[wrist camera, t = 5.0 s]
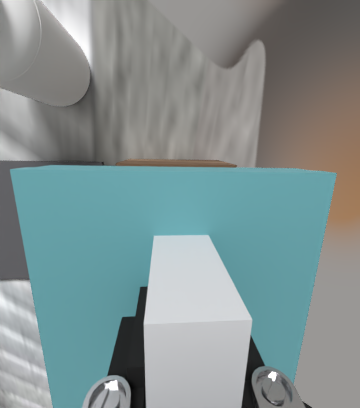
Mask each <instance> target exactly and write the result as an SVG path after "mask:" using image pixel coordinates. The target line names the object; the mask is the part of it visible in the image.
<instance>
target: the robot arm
mask: <svg viewBox="0 0 360 408" xmlns="http://www.w3.org/2000/svg"><path fill="white" fill-rule="evenodd" d="M147 291H148V286H146V287H140V291H139V297H138V303H137V309H136V315H135V316H130V317H122V319H121V322H120V326H119V330H118V334H117V338H116V342H115V346H114V350H113V354H112V358H111V363H110V367H109V371H108V375H107V377H104V378H102V379H101V380H99V381H97V382H96V383H95V384H94V385H93V386H92V387H91V389H90V390H89V391H88V393H87V395H86V397H85V400H84V402H83V406H82V408H146V387H145V353H144V317H145V309H146V300H147ZM241 408H312V407H310V406H309V405H307V404H306V403H304V402H303V401H302V400H301V398H300V396H299V394H298V392H297V390H296V388H295V386H294V385H293V383H292V382H291V380H290V379H289V378H288V377H287V376H286V375H285V374H284V373H282V372H281V371H280V370H278V369H276V368H273V367H269V366H265V364H264V362H263V360H262V358H261V356H260V353H259V351H258V349H257V347H256V345H255V343H254V341H253V338H252V336H251V335H250V343H249V351H248V359H247V366H246V374H245V382H244V390H243V398H242V406H241Z"/></svg>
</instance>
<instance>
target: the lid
mask: <svg viewBox="0 0 360 408" xmlns="http://www.w3.org/2000/svg"><path fill="white" fill-rule="evenodd" d="M10 173H11V179H12V184H13V190H14V195H15V201H16V206H17V212H18V217H19V223H20V228H21V234H22V239H23V245H24V250H25V256H26V261H27V267H28V272H29V278H30V283H31V289H32V294H33V300H34V306H35V311H36V317H37V322H38V328H39V333H40V339H41V344H42V350H43V355H44V361H45V366H46V372H47V377H48V383H49V388H50V394H51V399H52V405H53V408H82V406H83V402H84V400H85V397H86V395H87V393H88V391H89V390H90V389H91V387H92V386H93V385H94V384H95V383H96V382H97V381H99V380H101V379H102V378H104V377H107V375H108V371H109V367H110V363H111V358H112V354H113V350H114V346H115V342H116V338H117V334H118V330H119V326H120V322H121V319H122V317H130V316H135V315H136V309H137V303H138V297H139V291H140V287H146V286H148V291H147V300H146V309H145V317H144V353H145V387H146V408H241V406H242V398H243V390H244V382H245V374H246V366H247V359H248V351H249V343H250V335H251V336H252V338H253V341H254V343H255V345H256V347H257V349H258V351H259V353H260V356H261V358H262V360H263V362H264V364H265V366H269V367H273V368H276V369H278V370H280V371H281V372H282V373H284V374H285V375H286V376H287V377H288V378H289V379H290V380H291V382H292V383H293V384H294V379H295V375H296V370H297V365H298V360H299V355H300V350H301V345H302V340H303V335H304V330H305V326H306V320H307V316H308V311H309V306H310V301H311V296H312V291H313V287H314V282H315V277H316V272H317V267H318V262H319V257H320V252H321V248H322V243H323V237H324V233H325V228H326V223H327V218H328V213H329V208H330V204H331V199H332V194H333V189H334V184H335V179H336V174H337V173H332V172H324V171H309V170H302V169H296V168H229V167H155V166H81V165H48V166H40V167H24V168H16V169H10Z"/></svg>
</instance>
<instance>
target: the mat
mask: <svg viewBox="0 0 360 408" xmlns="http://www.w3.org/2000/svg"><path fill="white" fill-rule="evenodd" d="M48 165H81V166H104V163H103V162H55V161H0V279H30V278H29V272H28V267H27V261H26V256H25V250H24V245H23V239H22V234H21V228H20V223H19V217H18V212H17V206H16V201H15V195H14V190H13V184H12V179H11V173H10V169H16V168H24V167H40V166H48Z"/></svg>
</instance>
